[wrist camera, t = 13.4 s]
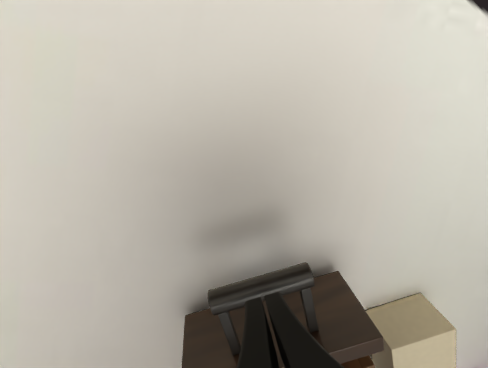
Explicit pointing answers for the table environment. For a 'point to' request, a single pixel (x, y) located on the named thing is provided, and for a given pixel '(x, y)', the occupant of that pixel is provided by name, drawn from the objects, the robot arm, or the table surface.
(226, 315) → the drawer
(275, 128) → the table surface
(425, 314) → the beige rectangular block
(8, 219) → the table surface
